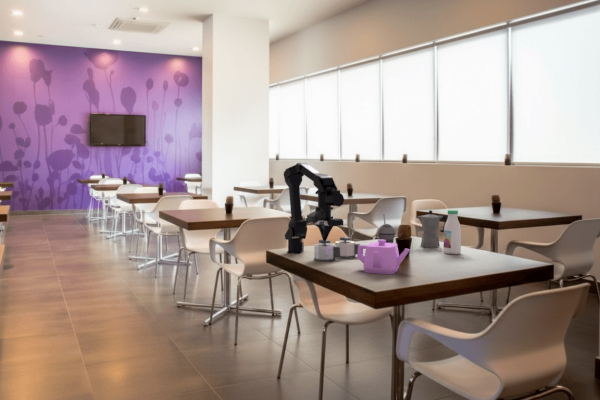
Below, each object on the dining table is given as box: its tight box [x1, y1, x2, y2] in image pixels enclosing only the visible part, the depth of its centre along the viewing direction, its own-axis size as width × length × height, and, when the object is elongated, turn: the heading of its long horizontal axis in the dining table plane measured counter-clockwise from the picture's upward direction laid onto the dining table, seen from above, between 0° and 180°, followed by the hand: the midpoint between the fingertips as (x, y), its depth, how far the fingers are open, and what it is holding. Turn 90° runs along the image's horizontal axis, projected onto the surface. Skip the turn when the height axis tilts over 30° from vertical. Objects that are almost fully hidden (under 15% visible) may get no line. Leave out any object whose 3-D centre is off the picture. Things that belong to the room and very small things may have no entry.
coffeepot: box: [416, 210, 448, 249], centre depth 283 cm, size 15×9×18 cm, turn 70°
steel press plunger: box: [318, 239, 331, 245], centre depth 250 cm, size 5×5×6 cm
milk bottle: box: [443, 209, 462, 255], centre depth 264 cm, size 8×8×20 cm
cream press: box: [334, 240, 361, 259], centre depth 257 cm, size 12×9×6 cm
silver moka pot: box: [313, 243, 341, 262], centre depth 250 cm, size 12×9×6 cm
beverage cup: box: [377, 213, 396, 243], centre depth 249 cm, size 7×7×20 cm
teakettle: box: [356, 239, 411, 275], centre depth 226 cm, size 17×17×12 cm
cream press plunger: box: [339, 236, 352, 243], centre depth 258 cm, size 5×5×6 cm
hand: (324, 240), depth 250 cm, fingers closed, pressing on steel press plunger
